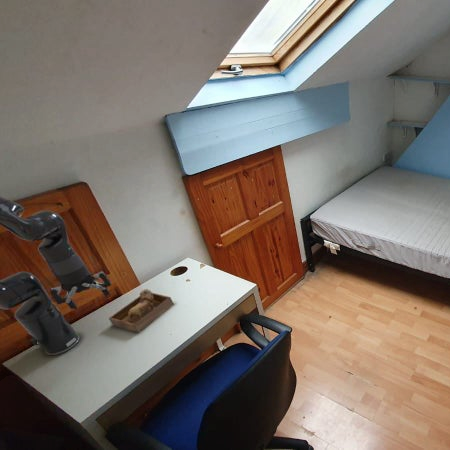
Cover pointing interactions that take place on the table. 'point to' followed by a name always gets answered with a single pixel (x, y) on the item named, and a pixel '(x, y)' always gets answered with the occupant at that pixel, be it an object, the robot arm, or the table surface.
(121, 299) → the table surface
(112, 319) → the brown wooden shallow box
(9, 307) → the robot arm
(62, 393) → the table surface
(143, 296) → the lion figurine
